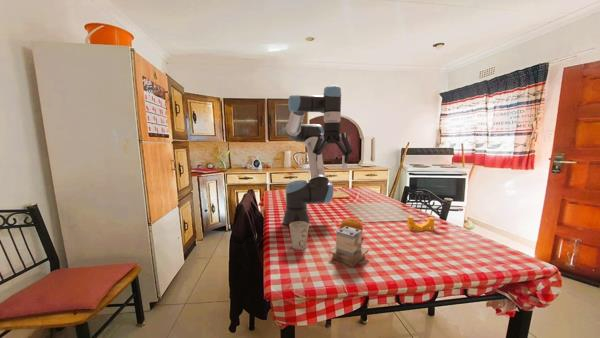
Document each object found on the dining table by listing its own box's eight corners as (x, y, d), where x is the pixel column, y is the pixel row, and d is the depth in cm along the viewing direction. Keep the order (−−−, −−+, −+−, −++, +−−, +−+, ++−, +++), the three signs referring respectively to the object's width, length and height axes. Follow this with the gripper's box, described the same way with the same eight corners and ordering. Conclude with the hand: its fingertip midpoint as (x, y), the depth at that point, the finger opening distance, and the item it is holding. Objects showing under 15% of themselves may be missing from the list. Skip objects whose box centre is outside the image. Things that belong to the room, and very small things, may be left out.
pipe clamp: (409, 230, 115) (409, 218, 114) (407, 227, 119) (407, 216, 119) (434, 232, 113) (435, 220, 112) (431, 229, 117) (432, 217, 116)
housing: (345, 244, 92) (345, 225, 92) (361, 250, 88) (361, 229, 87) (336, 250, 87) (336, 230, 86) (352, 256, 83) (352, 235, 82)
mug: (294, 252, 92) (294, 229, 91) (282, 241, 103) (282, 220, 102) (312, 248, 96) (312, 225, 95) (298, 237, 107) (298, 217, 106)
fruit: (355, 242, 102) (356, 225, 101) (336, 235, 109) (336, 219, 108) (366, 235, 110) (366, 219, 109) (347, 229, 117) (347, 214, 116)
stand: (328, 258, 87) (329, 251, 87) (343, 248, 96) (343, 241, 95) (354, 268, 80) (354, 260, 80) (368, 257, 88) (368, 249, 88)
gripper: (305, 123, 106) (305, 168, 108) (352, 119, 89) (351, 172, 92) (315, 124, 112) (315, 166, 114) (361, 121, 95) (360, 170, 97)
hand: (331, 169), depth 103 cm, fingers open, 13 cm apart
